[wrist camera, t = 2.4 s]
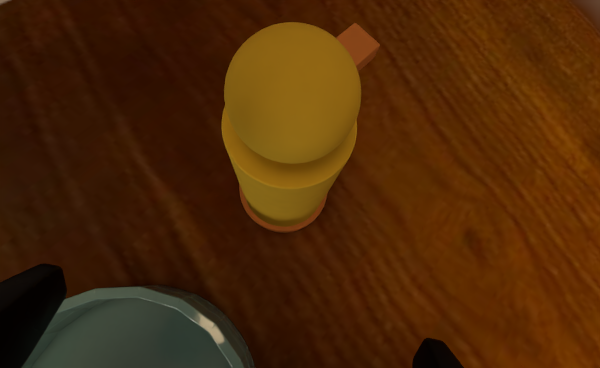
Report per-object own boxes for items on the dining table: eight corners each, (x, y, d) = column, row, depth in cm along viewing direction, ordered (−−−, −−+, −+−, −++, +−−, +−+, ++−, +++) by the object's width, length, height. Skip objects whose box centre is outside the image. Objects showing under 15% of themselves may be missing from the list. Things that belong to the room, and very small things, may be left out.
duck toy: (282, 251, 21) (294, 208, 8) (222, 187, 22) (136, 45, 8) (351, 184, 22) (464, 47, 9) (292, 126, 23) (316, -79, 10)
